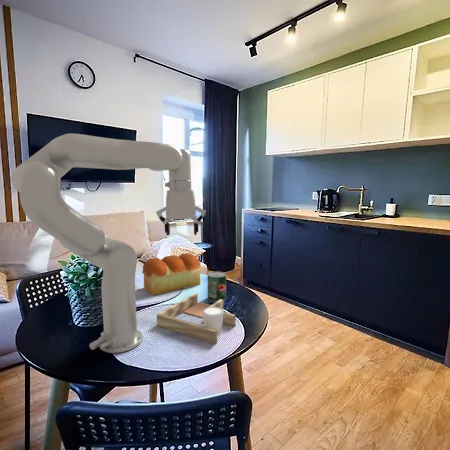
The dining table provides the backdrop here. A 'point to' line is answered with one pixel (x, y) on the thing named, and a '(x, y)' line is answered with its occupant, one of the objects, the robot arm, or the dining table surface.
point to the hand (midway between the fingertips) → (181, 234)
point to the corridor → (188, 328)
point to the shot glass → (213, 318)
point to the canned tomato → (216, 286)
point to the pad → (197, 309)
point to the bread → (171, 273)
